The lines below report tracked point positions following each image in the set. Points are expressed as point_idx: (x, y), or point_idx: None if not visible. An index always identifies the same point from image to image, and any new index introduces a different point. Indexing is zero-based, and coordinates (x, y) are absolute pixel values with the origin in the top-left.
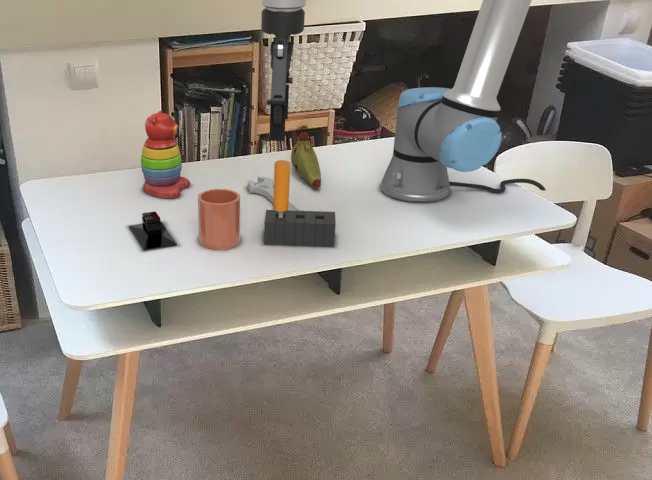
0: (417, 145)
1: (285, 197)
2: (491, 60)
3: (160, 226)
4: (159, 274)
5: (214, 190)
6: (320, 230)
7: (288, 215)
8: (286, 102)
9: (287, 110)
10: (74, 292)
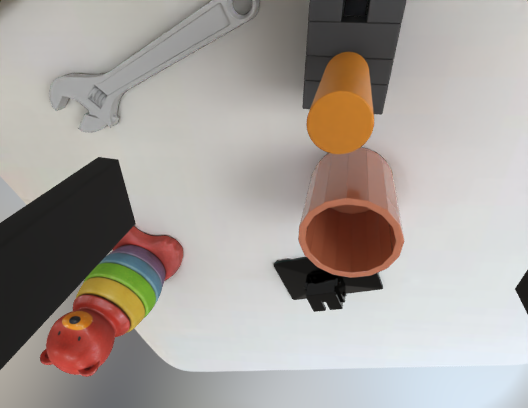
0: None
1: (367, 72)
2: None
3: (337, 281)
4: (480, 272)
5: (308, 246)
6: None
7: (345, 46)
8: (46, 227)
9: (83, 188)
10: (509, 358)
